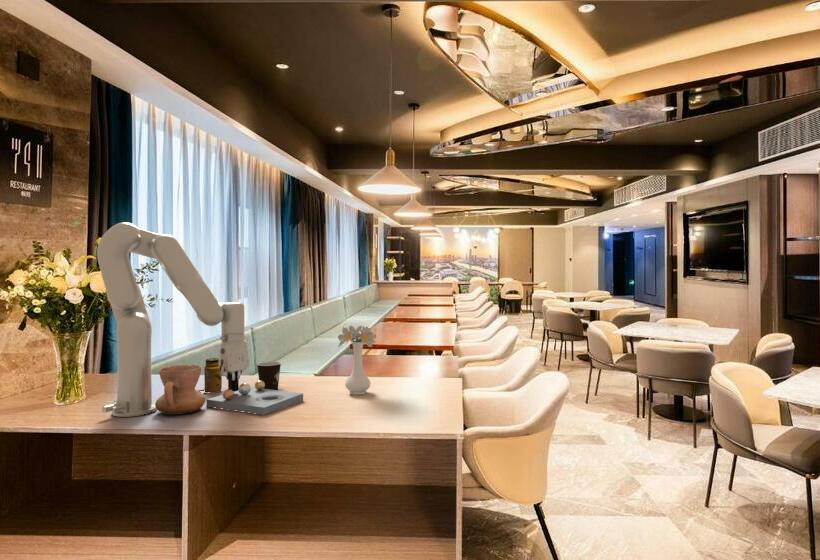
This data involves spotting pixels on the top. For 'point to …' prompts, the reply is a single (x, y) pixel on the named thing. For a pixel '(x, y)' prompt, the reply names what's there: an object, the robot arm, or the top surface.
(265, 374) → the coffee mug
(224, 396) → the copper ball
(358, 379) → the flower vase
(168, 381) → the ceramic jug
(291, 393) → the grey flat board
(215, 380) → the condiment
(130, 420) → the top surface
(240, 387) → the steel ball
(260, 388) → the brass ball
